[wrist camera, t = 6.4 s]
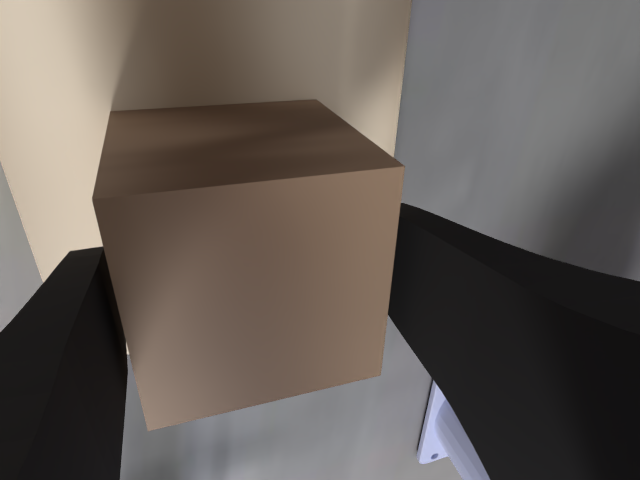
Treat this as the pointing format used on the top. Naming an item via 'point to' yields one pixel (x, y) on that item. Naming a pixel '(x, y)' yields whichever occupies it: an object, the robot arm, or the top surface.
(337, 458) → the top surface
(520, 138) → the top surface
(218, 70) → the maple block
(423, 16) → the top surface
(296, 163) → the walnut cube
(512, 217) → the top surface
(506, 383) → the robot arm
